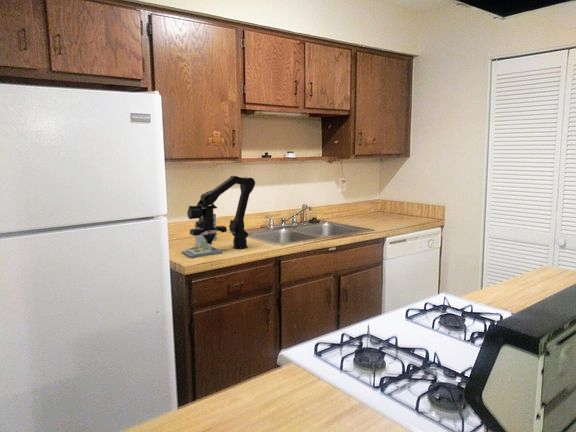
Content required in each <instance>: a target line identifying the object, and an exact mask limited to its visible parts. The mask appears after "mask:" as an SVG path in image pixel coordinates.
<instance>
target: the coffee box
mask: <svg viewBox="0 0 576 432" xmlns="http://www.w3.org/2000/svg"><path fill="white" fill-rule="evenodd" d="M213 215H214V220H215V221H214V227H215V228H216V226H217V217H216V216H217V215H216V213H213ZM202 219H203V216H202V217H201V218H198V221H200V222H202ZM213 241H217V235H215V237H214V239H213Z"/></svg>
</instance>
